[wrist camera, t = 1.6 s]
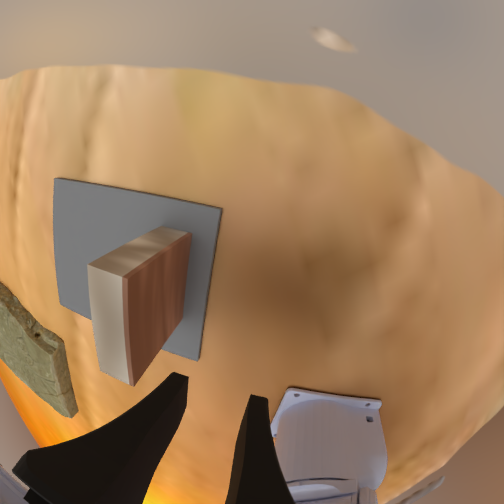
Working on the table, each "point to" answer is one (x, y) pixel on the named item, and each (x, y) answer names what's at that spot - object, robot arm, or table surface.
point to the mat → (123, 231)
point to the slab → (138, 300)
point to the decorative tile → (35, 355)
